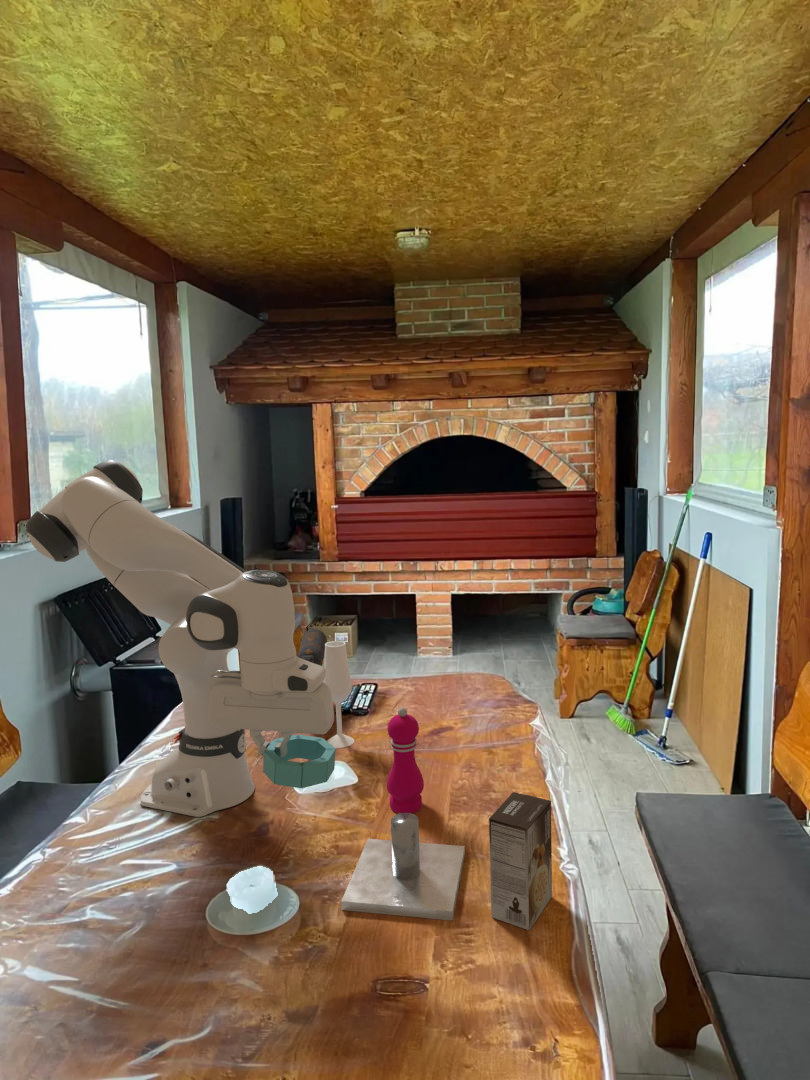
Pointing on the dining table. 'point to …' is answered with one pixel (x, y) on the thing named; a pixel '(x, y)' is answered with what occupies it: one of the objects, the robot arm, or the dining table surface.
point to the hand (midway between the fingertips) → (272, 754)
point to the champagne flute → (338, 685)
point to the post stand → (406, 875)
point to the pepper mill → (404, 765)
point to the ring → (299, 772)
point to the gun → (313, 646)
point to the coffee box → (520, 859)
